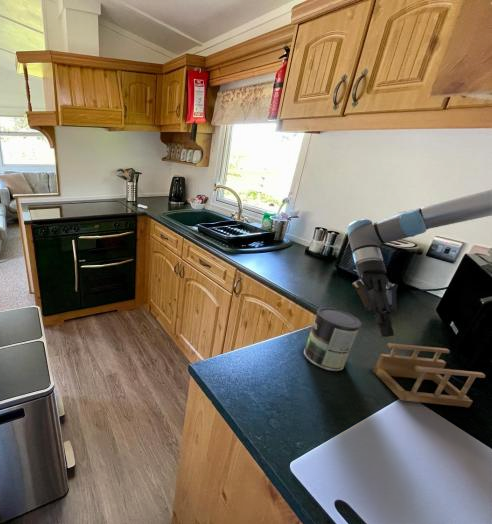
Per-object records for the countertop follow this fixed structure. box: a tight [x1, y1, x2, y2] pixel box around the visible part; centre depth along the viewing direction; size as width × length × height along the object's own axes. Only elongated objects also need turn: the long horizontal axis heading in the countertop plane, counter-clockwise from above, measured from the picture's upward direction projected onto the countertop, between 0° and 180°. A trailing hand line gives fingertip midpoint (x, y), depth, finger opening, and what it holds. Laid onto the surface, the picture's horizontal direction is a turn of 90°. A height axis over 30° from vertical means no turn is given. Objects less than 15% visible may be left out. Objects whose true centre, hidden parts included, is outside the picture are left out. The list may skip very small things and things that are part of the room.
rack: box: [372, 342, 486, 408], centre depth 73 cm, size 10×16×10 cm, turn 86°
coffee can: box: [303, 306, 362, 372], centre depth 81 cm, size 10×10×14 cm
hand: (387, 335), depth 85 cm, fingers closed
